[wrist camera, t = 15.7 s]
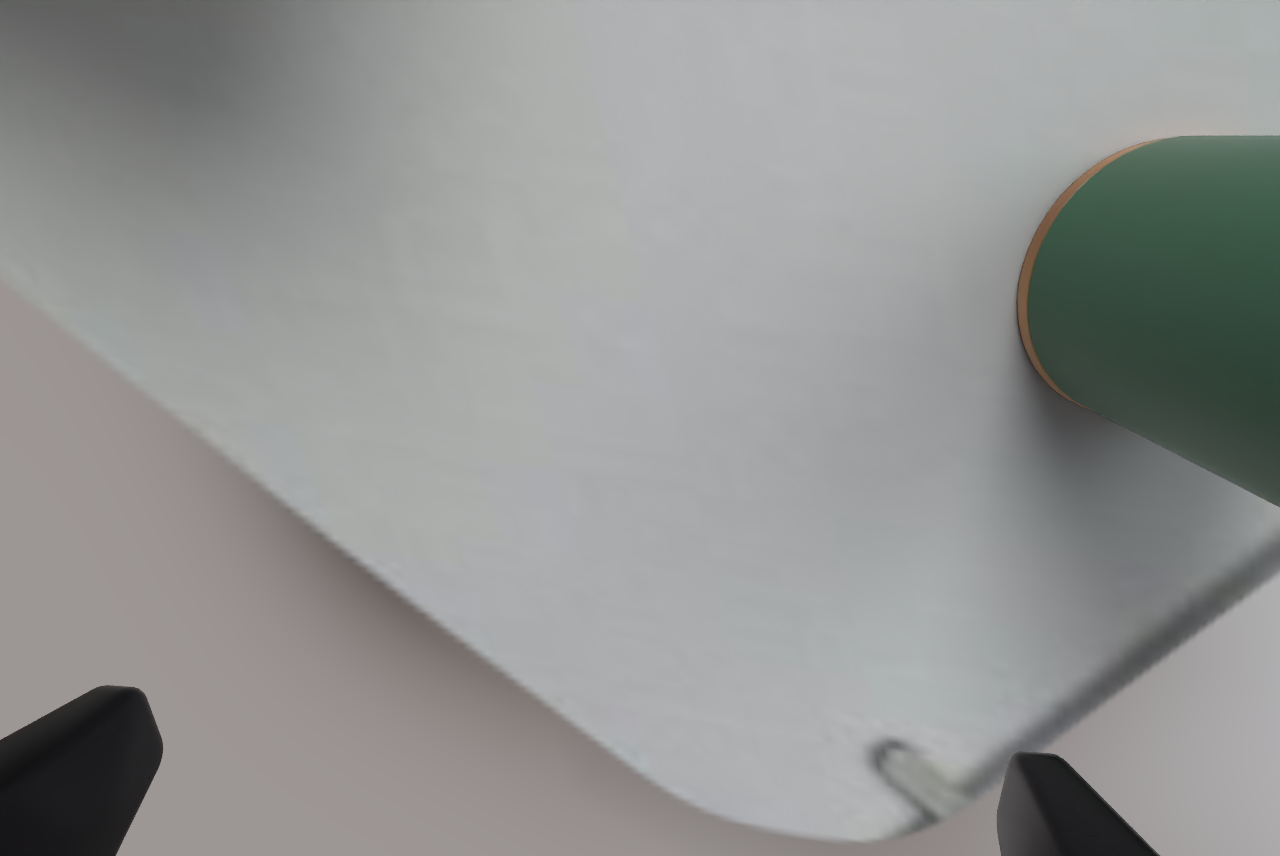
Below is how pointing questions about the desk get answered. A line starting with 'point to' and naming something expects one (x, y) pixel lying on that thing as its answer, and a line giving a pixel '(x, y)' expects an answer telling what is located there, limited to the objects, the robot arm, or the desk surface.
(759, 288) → the desk surface
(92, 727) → the robot arm
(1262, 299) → the bottle
